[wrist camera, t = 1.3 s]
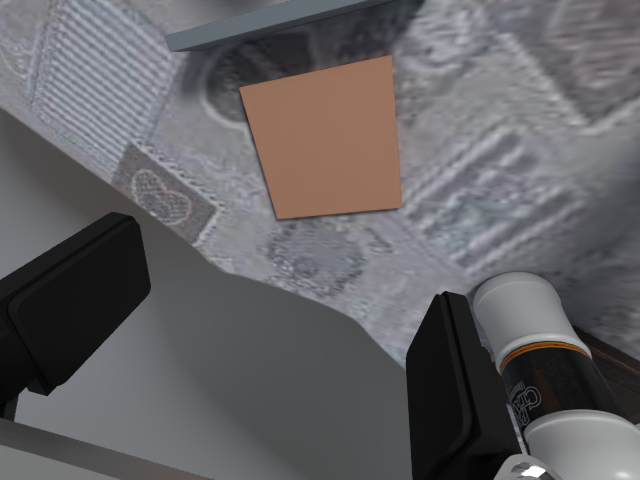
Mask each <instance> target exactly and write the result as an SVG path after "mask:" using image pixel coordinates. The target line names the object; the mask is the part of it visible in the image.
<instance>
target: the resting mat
mask: <svg viewBox="0 0 640 480" xmlns="http://www.w3.org/2000/svg"><path fill="white" fill-rule="evenodd" d="M239 89H240V92H241V96H242V99H243V103H244V106H245V110H246V113H247V116H248V120H249V123H250V127H251V130H252V133H253V137H254V140H255V144H256V147H257V151H258V154H259V157H260V161H261V164H262V168H263V171H264V174H265V178H266V181H267V185H268V188H269V192H270V195H271V198H272V202H273V205H274V209H275V212H276V216H277V219H284V218H295V217H306V216H316V215H327V214H338V213H349V212H359V211H370V210H381V209H392V208H402V198H401V183H400V169H399V155H398V141H397V126H396V112H395V98H394V84H393V69H392V55H387V56H382V57H378V58H373V59H368V60H364V61H359V62H354V63H350V64H345V65H341V66H336V67H331V68H327V69H322V70H317V71H313V72H308V73H303V74H299V75H294V76H289V77H285V78H280V79H275V80H271V81H266V82H261V83H257V84H252V85H248V86H243V87H240V88H239Z"/></svg>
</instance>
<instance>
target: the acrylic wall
mask: <svg viewBox="0 0 640 480" xmlns="http://www.w3.org/2000/svg"><path fill="white" fill-rule="evenodd" d="M391 1H395V0H291V1H288V2H284V3H280V4H277V5H273V6H270V7H266V8H263V9H259V10H255V11H252V12H248V13H245V14H241V15H238V16H234V17H230V18H227V19H223V20H220V21H216V22H213V23H209V24H205V25H202V26H198V27H195V28H191V29H188V30H184V31H181V32H177V33H173V34H170V35H166V36H164V37H165V39H166V42H167V45H168V47H169V50H170V52H185V51H200V50H204V49H208V48H212V47H216V46H220V45H224V44H228V43H232V42H235V41H239V40H243V39H247V38H251V37H255V36H259V35H263V34H267V33H270V32H274V31H278V30H282V29H286V28H290V27H294V26H298V25H301V24H305V23H309V22H313V21H317V20H321V19H325V18H329V17H333V16H336V15H340V14H344V13H348V12H352V11H356V10H360V9H364V8H368V7H371V6H375V5H379V4H383V3H387V2H391Z"/></svg>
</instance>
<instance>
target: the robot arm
mask: <svg viewBox="0 0 640 480" xmlns="http://www.w3.org/2000/svg"><path fill="white" fill-rule="evenodd" d="M150 289H151V284H150V278H149V273H148V267H147V263H146V257H145V251H144V246H143V241H142V235H141V230H140V226H139V224H138V223H137V222H136V220H135V219H134V218H133V217H132V216H129V215H125V214H121V213H117V212H111V213H108V214H107V215H105V216H104V217H102V218H100V219H99V220H97V221H96V222H94V223H92V224H91V225H89V226H87V227H86V228H84V229H82V230H81V231H79V232H78V233H76V234H74V235H73V236H71V237H69V238H68V239H66V240H64V241H63V242H61V243H60V244H58V245H56V246H55V247H53V248H51V249H50V250H48V251H47V252H45V253H43V254H42V255H40V256H38V257H37V258H35V259H34V260H32V261H30V262H29V263H27V264H25V265H24V266H22V267H20V268H19V269H17V270H16V271H14V272H13V273H11V274H9V275H8V276H6V277H4V278H3V279H1V280H0V480H214V479H210V478H206V477H203V476H200V475H196V474H193V473H190V472H186V471H183V470H179V469H176V468H172V467H169V466H165V465H162V464H158V463H155V462H152V461H148V460H145V459H142V458H138V457H135V456H131V455H128V454H124V453H121V452H117V451H114V450H110V449H107V448H104V447H100V446H97V445H93V444H90V443H86V442H83V441H79V440H76V439H72V438H69V437H65V436H62V435H58V434H55V433H51V432H48V431H44V430H41V429H37V428H34V427H30V426H27V425H23V424H20V423H16V422H14V419H15V413H16V407H17V402H18V396H19V393H21V392H22V391H23V390H24V388H26V387H27V389H28V390H29V391H31V392H34V393H38V394H41V395H45V396H48V395H49V394H50V393H51V392H52V391H53V390H54V389H55V388H56V387H57V386H59V385H62V384H64V383H65V382H66V381H67V380H68V379H69V378H70V377H71V376H72V375H73V374H74V373H75V372H76V371H77V370H78V369H79V368H80V367H81V365H82V364H83V363H84V362H85V361H86V360H87V359H88V358H89V357H90V356H91V355H92V354H93V353H94V352H95V351H96V350H97V349H98V348H99V347H100V346H101V345H102V343H103V342H104V341H105V340H106V339H107V338H108V337H109V336H110V335H111V334H112V333H113V332H114V331H115V330H116V329H117V328H118V326H119V325H120V324H121V323H122V322H123V321H124V320H125V319H126V318H127V317H128V316H129V315H130V314H131V313H132V312H133V311H134V310H135V309H136V307H137V306H138V305H139V304H140V303H141V302H142V301H143V300H144V299H145V298H146V297H147V296H148V294H149V292H150ZM406 375H407V392H408V410H409V427H410V442H411V443H410V444H411V461H412V477H413V480H563V479H562V478H561V477H560V476H559V475H558V474H557V473H556V472H555V471H554V470H553V469H551V468H550V467H549V466H547V465H546V464H545V463H543V462H542V461H540V460H538V459H536V458H534V457H532V456H529V455H523V454H522V451H521V448H520V445H519V442H518V439H517V436H516V433H515V430H514V427H513V424H512V421H511V418H510V415H509V412H508V409H507V406H506V403H505V400H504V396H503V393H502V390H501V387H500V384H499V381H498V378H497V375H496V372H495V369H494V366H493V363H492V360H491V357H490V354H489V352H488V350H487V349H486V348H485V347H482V346H481V343H480V340H479V336H478V333H477V330H476V327H475V323H474V320H473V317H472V314H471V311H470V307H469V304H468V301H467V298H466V297H465V296H464V295H460V294H456V293H452V292H447V291H444V292H443V293H442V294H441V295H439V294H436V295H435V297H434V298H433V300H432V302H431V305H430V307H429V309H428V311H427V313H426V315H425V317H424V319H423V321H422V323H421V325H420V327H419V329H418V331H417V333H416V335H415V337H414V339H413V341H412V343H411V345H410V347H409V349H408V352H407V355H406Z"/></svg>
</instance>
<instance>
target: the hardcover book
mask: <svg viewBox="0 0 640 480" xmlns="http://www.w3.org/2000/svg"><path fill="white" fill-rule="evenodd" d="M571 326H572V328H573V330H574V332H575V333H576V335H577V336H578V337H579V339H580V340H581V342H583V343H584V344H585V345H586V346H587V347H588V349H589V350H590V352H591V357H592V360H593V362H594V363H595V365H596V366H597V368H598V370H599V371H600V373H601V374H602V376H603V377H604V379H605V380H606V382H607V384H608V385H609V387H610V388H611V390H612V391H613V393H614V395H615V396H616V398H617V399H618V401H619V402H620V404H621V405H622V407H623V409H624V410H625V412H626V413H627V415H628V416H629V418H630V420H631V421H632V423H633V424H634V425H636V424H639V423H640V361H638V360H636V359H634V358H633V357H631V356H629V355H627V354H625V353H623V352H621V351H619V350H618V349H616V348H614V347H612V346H610V345H608V344H606V343H605V342H603V341H601V340H599V339H597V338H595V337H593V336H591V335H590V334H588V333H586V332H584V331H582V330H580V329H578V328H576V327H575V326H573V325H571ZM490 357H491V360H492V363H493V366H494V369H495V372H496V375H497V378H498V381H499V384H500V387H501V390H502V393H503V396H504V400H505V403H507V404H509V405H511V404H510V401H509V398H508V395H507V392H506V389H505V386H504V383H503V380H502V377H501V375H500V374H499V373H498V371H497V369H496V365H495V357H494V354H493V355H491V356H490Z"/></svg>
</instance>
